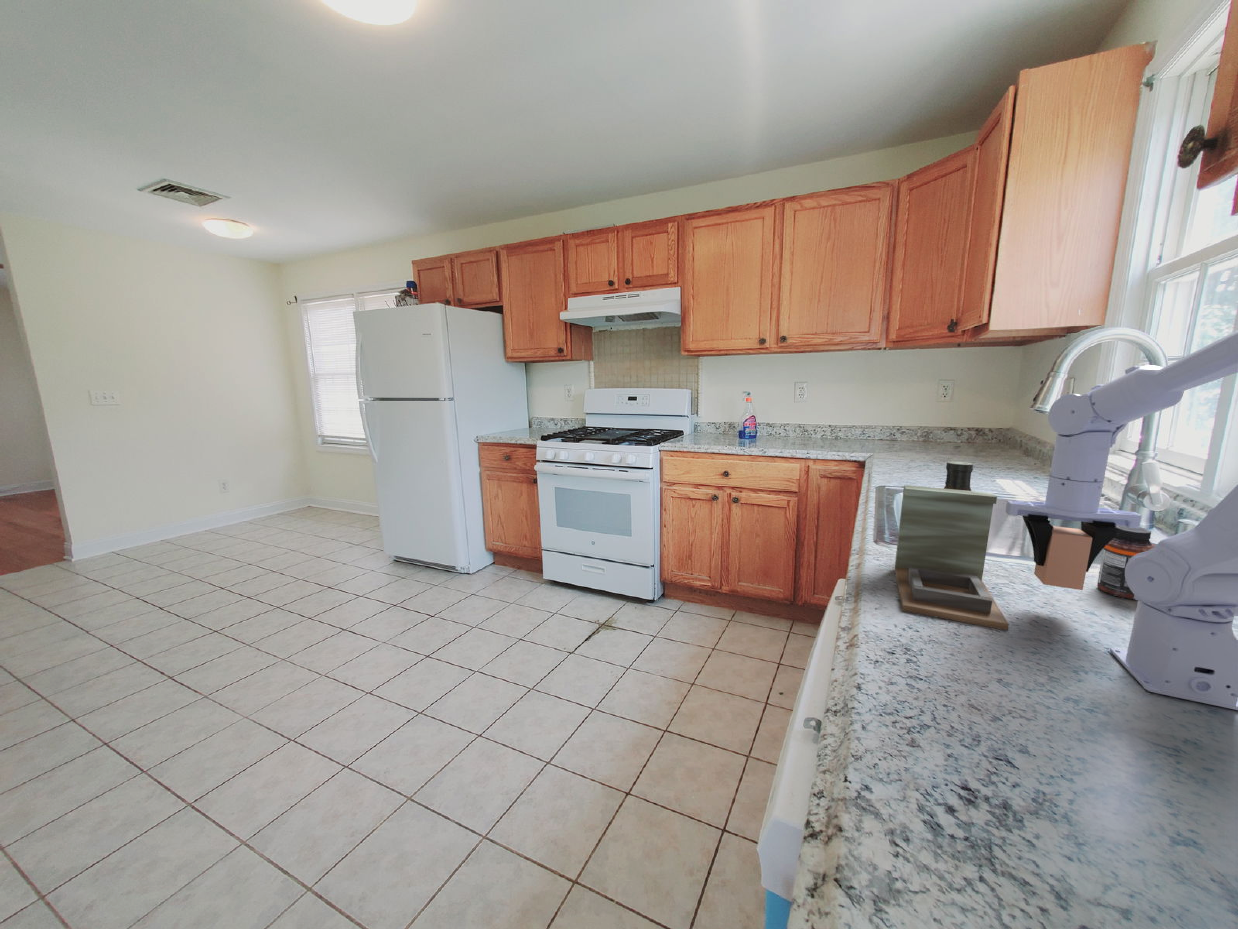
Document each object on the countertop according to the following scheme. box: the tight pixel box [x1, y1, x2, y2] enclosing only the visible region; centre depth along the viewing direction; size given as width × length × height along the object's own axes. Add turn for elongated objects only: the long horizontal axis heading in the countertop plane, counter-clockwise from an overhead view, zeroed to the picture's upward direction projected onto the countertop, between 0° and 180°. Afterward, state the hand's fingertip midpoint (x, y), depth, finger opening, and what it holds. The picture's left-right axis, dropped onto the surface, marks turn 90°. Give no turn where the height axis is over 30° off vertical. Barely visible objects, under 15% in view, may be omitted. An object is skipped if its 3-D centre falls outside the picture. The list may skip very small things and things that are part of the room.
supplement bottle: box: [1096, 525, 1156, 600], centre depth 79 cm, size 6×6×11 cm
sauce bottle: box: [943, 461, 974, 491], centre depth 90 cm, size 6×6×20 cm
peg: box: [1033, 525, 1092, 591], centre depth 71 cm, size 4×4×8 cm
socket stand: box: [894, 484, 1010, 631], centre depth 77 cm, size 18×13×16 cm
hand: (1060, 566), depth 72 cm, fingers closed on peg, 4 cm apart
